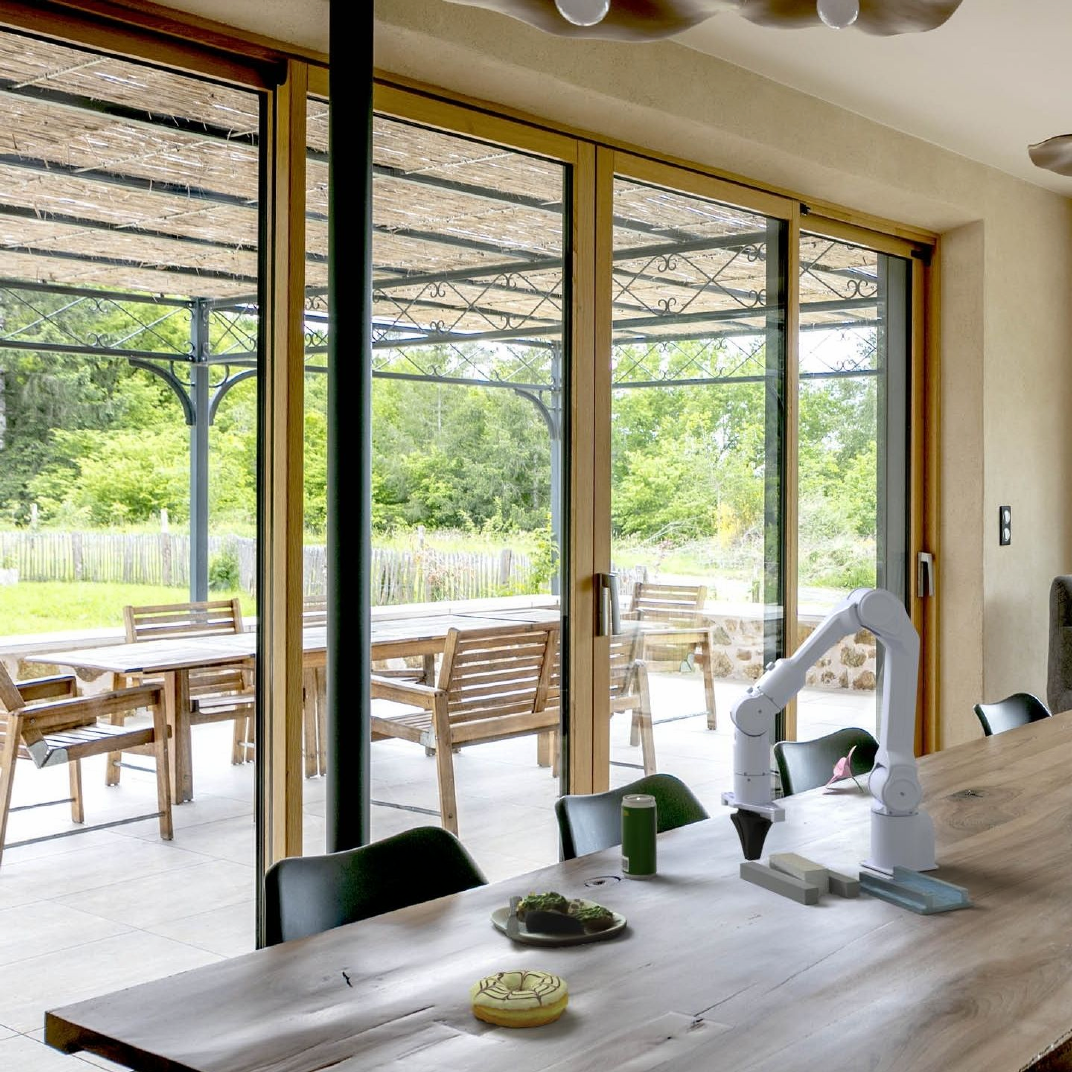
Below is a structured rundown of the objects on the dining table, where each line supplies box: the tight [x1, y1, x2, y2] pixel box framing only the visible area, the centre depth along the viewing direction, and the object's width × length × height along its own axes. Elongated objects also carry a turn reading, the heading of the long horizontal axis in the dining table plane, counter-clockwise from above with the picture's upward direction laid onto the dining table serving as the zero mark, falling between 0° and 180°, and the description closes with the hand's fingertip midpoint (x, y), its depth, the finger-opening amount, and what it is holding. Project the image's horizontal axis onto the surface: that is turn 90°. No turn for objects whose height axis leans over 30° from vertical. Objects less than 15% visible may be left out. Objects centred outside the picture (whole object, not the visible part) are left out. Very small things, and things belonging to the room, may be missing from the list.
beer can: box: [620, 793, 658, 881], centre depth 197 cm, size 5×5×12 cm
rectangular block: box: [768, 852, 830, 897], centre depth 190 cm, size 4×10×4 cm, turn 20°
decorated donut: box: [469, 969, 570, 1029], centre depth 141 cm, size 10×11×4 cm
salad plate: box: [489, 890, 628, 949], centre depth 172 cm, size 19×18×5 cm
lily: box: [821, 745, 864, 794], centre depth 260 cm, size 12×12×10 cm
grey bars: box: [739, 861, 861, 906], centre depth 190 cm, size 10×16×2 cm, turn 25°
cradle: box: [858, 866, 973, 916], centre depth 184 cm, size 9×14×2 cm, turn 25°
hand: (752, 859), depth 201 cm, fingers closed
